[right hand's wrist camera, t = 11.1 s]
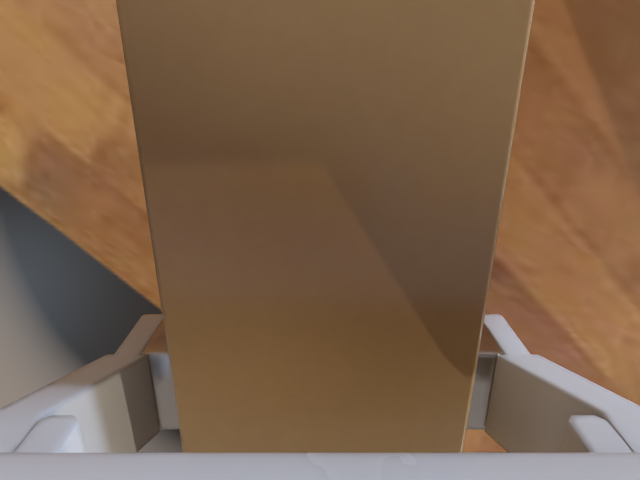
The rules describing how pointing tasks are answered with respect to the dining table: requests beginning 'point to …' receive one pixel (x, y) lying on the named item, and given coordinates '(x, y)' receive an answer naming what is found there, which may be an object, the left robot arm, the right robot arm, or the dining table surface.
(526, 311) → the dining table surface
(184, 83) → the beam
